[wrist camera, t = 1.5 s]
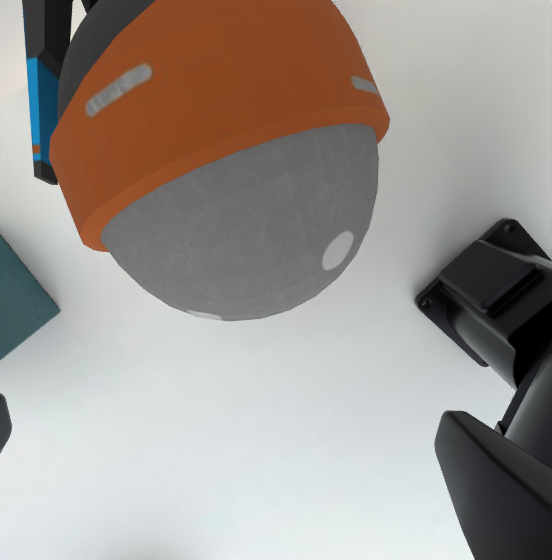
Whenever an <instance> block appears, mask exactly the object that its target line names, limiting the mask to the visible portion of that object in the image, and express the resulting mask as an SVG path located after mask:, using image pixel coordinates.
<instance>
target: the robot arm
mask: <svg viewBox="0 0 552 560" xmlns="http://www.w3.org/2000/svg"><path fill="white" fill-rule="evenodd" d="M507 225H510V226H509V229H508V231H506V232H505V227H506V226H507ZM424 300H428V302H427V304H425V305H422V303H423V301H424ZM415 305H416V306H417V308H418V309H419V310H420V311H421V312H423V313H424V314H425V315H426V316H427V317H428V318H429V319H430V320H431V321H432V322H433V323H434V324H436V325H437V326H438V327H439V328H440V329H441V330H442V331H443V332H444V333H445V334H446V335H448V336H449V337H450V338H451V339H452V340H453V341H454V342H455V343H456V344H457V345H458V346H459V347H461V348H462V349H463V350H464V351H465V352H466V353H467V354H468V355H469V356H470V357H471V358H472V359H474V360H475V361H476V362H477V363H478V364H479V365H480V366H482V367H487V366H490V367H491V368H492V369H493V370H495V371H496V372H497V373H498V374H499V375H500V376H501V377H502V378H503V379H504V380H505V381H506V382H507V383H508V384H509V385H510V386H511V387H512V388H513V389H514V390H515V391H516V393H515V395H514V397H513V399H512V401H511V403H510V405H509V407H508V409H507V411H506V413H505V415H504V417H503V419H502V421H498V422H497V424H496V426H495V428H494V430H493V429H492V428H490V427H489V426H487V425H485V424H484V423H482V422H481V421H479V420H478V419H476V418H475V417H473V416H472V415H470V414H469V413H467V412H464V411H449V410H448V411H445V412H444V413H443V414H442V417H441V420H440V424H439V427H438V431H437V434H436V438H435V452H436V455H437V458H438V461H439V464H440V467H441V470H442V473H443V476H444V479H445V482H446V485H447V488H448V491H449V494H450V497H451V500H452V503H453V506H454V509H455V512H456V515H457V517H458V520H459V523H460V526H461V528H462V531H463V533H464V536H465V538H466V540H467V543H468V545H469V547H470V550H471V552H472V554H473V557H474V559H475V560H552V260H551V259H550V258H549V257H548V256H547V255H546V253H545V252H544V251H543V250H542V249H541V248H540V247H539V245H538V244H537V243H536V242H535V241H534V240H533V238H532V237H531V236H530V235H529V234H528V233H527V232H526V230H525V229H524V228H523V227H522V226H521V225H520V224H519V222H518V221H516V220H514V219H511V218H503V219H501V220H500V221H498V222H497V223H496V224H495V225H494V226H493V227H492V228H491V229H490V230H489V231H488V232H486V233H485V234H484V235H483V236H482V237H481V238H480V239H479V240H476V241H474V242H473V243H472V244H471V245H470V246H469V247H468V248H467V249H466V250H465V251H464V252H462V253H461V254H460V255H459V256H458V257H457V258H456V259H455V260H454V261H453V262H452V263H450V264H449V265H448V266H447V267H446V268H445V269H444V270H443V271H442V272H441V273H440V276H438V277H437V278H436V279H435V280H434V281H433V282H432V283H431V284H430V285H429V286H428V287H426V288H425V289H424V290H423V291H422V292H421V293H420V294H419V295H418V296H417V297H416V299H415ZM11 430H12V423H11V419H10V415H9V411H8V407H7V402H6V399H5V397H4V395H3V394H1V393H0V453H1V451H2V449H3V448H4V446H5V444H6V442H7V441H8V439H9V437H10V434H11Z"/></svg>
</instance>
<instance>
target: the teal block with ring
mask: <svg viewBox="0 0 552 560" xmlns="http://www.w3.org/2000/svg"><path fill="white" fill-rule="evenodd" d="M58 313H60V310H59V309H58V307H57V306H56V305H55V304H54V302H53V301H52V300H51V298H50V297H49V296H48V295H47V293H46V292H45V291H44V290H43V288H42V287H41V286H40V285H39V283H38V282H37V281H36V280H35V278H34V277H33V276H32V275H31V273H30V272H29V271H28V270H27V268H26V267H25V266H24V265H23V263H22V262H21V261H20V260H19V258H18V257H17V256H16V255H15V253H14V252H13V251H12V250H11V248H10V247H9V246H8V245H7V243H6V242H5V241H4V240H3V238H2V237H1V236H0V360H1V359H3V358H4V357H5V356H6V355H8V354H9V353H10V352H11V351H13V350H14V349H15V348H16V347H18V346H19V345H20V344H21V343H22V342H24V341H25V340H26V339H27V338H29V337H30V336H31V335H32V334H34V333H35V332H36V331H37V330H39V329H40V328H41V327H42V326H44V325H45V324H46V323H47V322H48V321H50V320H51V319H52V318H53V317H55V316H56V315H57V314H58Z"/></svg>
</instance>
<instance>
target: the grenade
mask: <svg viewBox="0 0 552 560" xmlns="http://www.w3.org/2000/svg"><path fill="white" fill-rule="evenodd" d="M81 1H82V3H83V6H84V8H85V11H86V13H87V15H86V17H85V18H84V19H83V21H82V22H81V24H80V25H79V27H78V29H77V31H76V32H75V34H74V36H73V38H72V40H71V43H70V35H71V17H72V2H73V0H22V4H23V17H24V32H25V47H26V62H27V76H28V91H29V105H30V120H31V134H32V149H33V163H34V177H36V178H38V179H40V180H43V181H45V182H47V183H49V184H51V185H58V182H59V185H60V187H61V190H62V192H63V195H64V197H65V200H66V202H67V205H68V208H69V210H70V213H71V215H72V218H73V220H74V223H75V225H76V228H77V230H78V233H79V235H80V238H81V240H82V242H83V244H84V245H86V246H88V247H89V248H91V249H93V250H97V251H102V252H110V254H111V255H112V256H113V258H114V259H115V260H116V261H117V263H118V264H119V265H120V267H122V268H123V269H124V270H125V271H126V272H127V273H128V274H129V275H130V276H131V277H132V278H133V279H134V280H135V281H136V282H137V283H138V284H139V285H140V286H141V287H142V288H143V289H145V290H146V291H148V292H149V293H151V294H152V295H154V296H155V297H157V298H158V299H160V300H161V301H163V302H164V303H166V304H168V305H169V306H171V307H173V308H176V309H179V310H181V311H184V312H187V313H189V314H192V315H195V316H198V317H201V318H209V319H217V320H224V321H239V320H251V319H261V318H264V317H268V316H271V315H275V314H278V313H281V312H285V311H288V310H291V309H292V308H294V307H296V306H298V305H300V304H302V303H304V302H306V301H307V300H309V299H311V298H313V297H315V296H316V295H318V294H319V293H320V292H321V291H322V290H324V289H325V288H326V287H327V286H328V285H330V284H331V283H332V282H333V281H334V280H336V279H337V278H338V277H339V276H340V274H341V273H342V272H343V271H344V269H345V268H346V267H347V265H348V264H349V263H350V262H351V260H352V259H353V258H354V256H355V255H356V254H357V251H358V249H359V247H360V245H361V243H362V241H363V239H364V236H365V234H366V232H367V230H368V228H369V224H370V221H371V217H372V212H373V208H374V203H375V198H376V194H377V186H378V160H379V157H378V148H377V144H378V143H379V142H380V141H381V139H382V138H383V137H384V135H385V134H386V132H387V130H388V127H389V121H390V118H389V115H388V113H387V111H386V108H385V106H384V103H383V101H382V99H381V96H380V94H379V91H378V89H377V87H376V84H375V82H374V79H373V77H372V75H371V72H370V70H369V67H368V65H367V63H366V60H365V58H364V55H363V53H362V51H361V48H360V46H359V43H358V41H357V39H356V37H355V35H354V34H353V32H352V30H351V28H350V27H349V25H348V23H347V22H346V20H345V19H344V17H343V16H342V14H341V13H340V11H339V10H338V9H337V7H336V6H335V5H334V4H333V2H332V1H331V0H81Z"/></svg>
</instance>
